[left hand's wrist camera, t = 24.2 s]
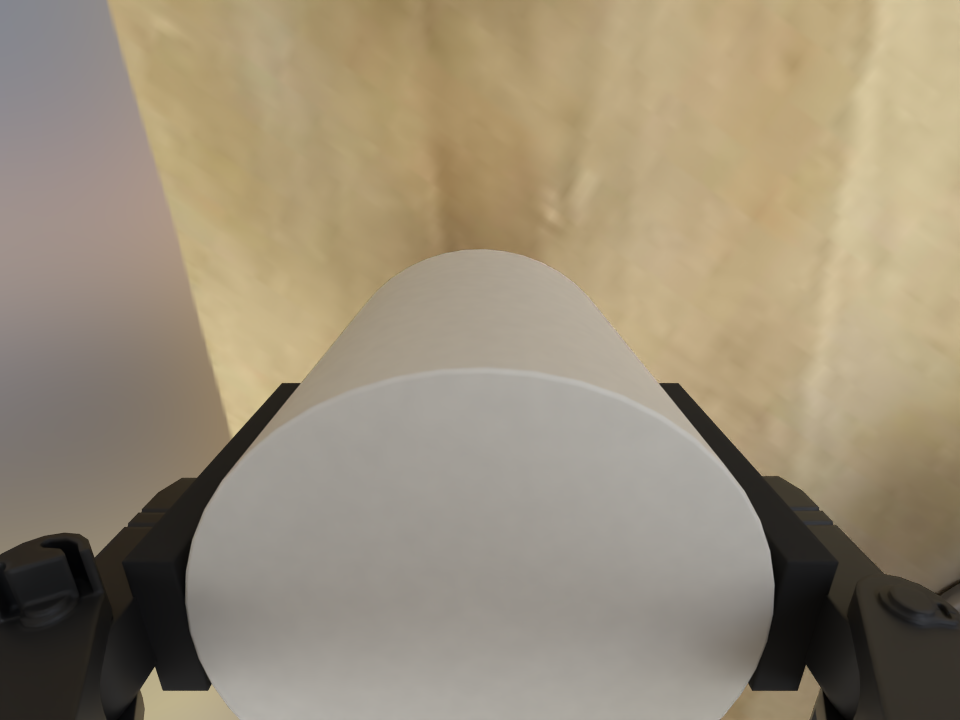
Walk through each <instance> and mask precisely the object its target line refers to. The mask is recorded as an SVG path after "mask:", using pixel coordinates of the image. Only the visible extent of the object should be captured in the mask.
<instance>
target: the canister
mask: <svg viewBox="0 0 960 720" xmlns="http://www.w3.org/2000/svg"><path fill="white" fill-rule="evenodd" d="M774 586H775V584H774V576H773V569H772V561H771V554H770V549H769V546H768V543H767V540H766V537H765V534H764V530H763V527H762V524H761V521H760V519H759V517H758V515H757V513H756V512H755V510H754V508H753V506H752V504H751V502H750V500H749V498H748V496H747V495H746V493H745V491H744V490H743V488H742V487H741V486H740V484H739V483H738V482H737V480H736V479H735V478H734V477H733V475H732V474H731V473H730V471H729V470H728V469H727V467H726V466H725V465H724V464H723V462H722V461H721V460H720V459H719V457H718V456H717V455H716V454H715V452H714V451H713V450H712V449H711V447H710V446H709V445H708V444H707V443H706V441H705V440H704V439H703V438H702V436H701V435H700V434H699V433H698V431H697V430H696V429H695V428H694V426H693V425H692V424H691V423H690V422H689V420H688V419H687V418H686V417H685V415H684V414H683V413H682V412H681V410H680V409H679V408H678V407H677V405H676V404H675V403H674V402H673V401H672V399H671V398H670V397H669V396H668V394H667V393H666V392H665V391H664V389H663V388H662V387H661V386H660V384H659V383H658V382H657V381H656V379H655V378H654V377H653V376H652V375H651V373H650V372H649V371H648V370H647V368H646V367H645V366H644V365H643V363H642V362H641V361H640V360H639V358H638V357H637V356H636V355H635V354H634V352H633V351H632V350H631V349H630V347H629V346H628V345H627V344H626V342H625V341H624V340H623V339H622V337H621V336H620V335H619V334H618V333H617V331H616V330H615V329H614V328H613V326H612V325H611V324H610V323H609V321H608V320H607V319H606V318H605V316H604V315H603V314H602V313H601V311H600V310H599V309H598V308H597V307H596V305H595V304H594V303H593V302H592V300H591V299H590V298H589V297H588V296H587V295H586V294H585V293H584V292H583V291H582V290H581V289H580V288H579V287H578V286H577V285H576V284H575V283H574V282H573V281H571V280H570V279H568V278H567V277H566V276H564V275H563V274H562V273H560V272H559V271H557V270H555V269H553V268H551V267H550V266H548V265H546V264H544V263H542V262H540V261H537V260H534V259H532V258H529V257H526V256H523V255H519V254H515V253H510V252H506V251H499V250H488V249H475V250H460V251H455V252H449V253H444V254H440V255H437V256H434V257H431V258H428V259H425V260H423V261H420V262H418V263H416V264H414V265H412V266H410V267H408V268H406V269H405V270H403V271H401V272H400V273H398V274H397V275H395V276H394V277H392V278H391V279H390V280H388V281H387V282H386V283H385V284H384V285H383V286H382V287H380V288H379V289H378V290H377V291H376V292H375V293H374V294H373V296H372V297H371V298H370V299H369V300H368V301H367V303H366V304H365V305H364V306H363V307H362V309H361V310H360V311H359V312H358V314H357V315H356V316H355V317H354V318H353V320H352V321H351V322H350V323H349V325H348V326H347V327H346V328H345V330H344V331H343V332H342V333H341V334H340V336H339V337H338V338H337V339H336V341H335V342H334V343H333V344H332V346H331V347H330V348H329V349H328V351H327V352H326V353H325V354H324V355H323V357H322V358H321V359H320V360H319V362H318V363H317V364H316V365H315V367H314V368H313V369H312V370H311V371H310V373H309V374H308V375H307V376H306V378H305V379H304V380H303V381H302V383H301V384H300V385H299V386H298V387H297V389H296V390H295V391H294V392H293V394H292V395H291V396H290V397H289V399H288V400H287V401H286V402H285V404H284V405H283V406H282V407H281V408H280V410H279V411H278V412H277V413H276V415H275V416H274V417H273V418H272V420H271V421H270V422H269V423H268V424H267V426H266V427H265V428H264V429H263V431H262V432H261V433H260V434H259V436H258V437H257V438H256V439H255V440H254V442H253V443H252V444H251V445H250V447H249V448H248V449H247V450H246V452H245V453H244V454H243V455H242V457H241V458H240V459H239V460H238V461H237V463H236V464H235V465H234V466H233V468H232V469H231V470H230V471H229V473H228V474H227V475H226V476H225V477H224V479H223V480H222V481H221V483H220V485H219V486H218V488H217V490H216V491H215V493H214V494H213V496H212V498H211V499H210V501H209V503H208V504H207V506H206V507H205V509H204V511H203V514H202V516H201V519H200V521H199V524H198V527H197V529H196V532H195V534H194V537H193V539H192V544H191V549H190V554H189V558H188V563H187V568H186V587H185V605H186V611H187V618H188V624H189V630H190V634H191V637H192V640H193V643H194V646H195V649H196V652H197V655H198V658H199V660H200V662H201V664H202V666H203V668H204V670H205V672H206V674H207V676H208V677H209V679H210V681H211V683H212V685H213V686H214V688H215V689H216V691H217V692H218V693H219V695H220V696H221V697H222V699H223V700H224V702H225V703H226V704H227V706H228V707H229V709H230V710H231V711H232V712H233V713H234V714H235V715H236V716H237V717H238V718H239V719H240V720H720V719H721V718H722V717H723V716H724V715H725V714H726V712H727V711H728V710H729V709H730V707H731V706H732V705H733V704H734V702H735V701H736V700H737V699H738V697H739V696H740V695H741V693H742V692H743V690H744V688H745V687H746V685H747V683H748V682H749V680H750V678H751V677H752V675H753V673H754V671H755V670H756V668H757V665H758V663H759V660H760V658H761V655H762V653H763V650H764V648H765V645H766V643H767V639H768V635H769V630H770V626H771V621H772V617H773V607H774Z"/></svg>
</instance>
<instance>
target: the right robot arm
mask: <svg viewBox="0 0 960 720" xmlns="http://www.w3.org/2000/svg"><path fill="white" fill-rule="evenodd" d="M940 596H941V597H942V598H943V599H944V600H946V601H947V602H948V603H949V604H950V605H952V606H953V607H954V608H955V609H956V610H957V611H958V612H959V613H960V584H958V585H956V586H954V587H953V588H951V589H949V590H948V591H946V592H945V593H943V594H942V595H940Z"/></svg>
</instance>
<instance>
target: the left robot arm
mask: <svg viewBox="0 0 960 720" xmlns="http://www.w3.org/2000/svg"><path fill="white" fill-rule="evenodd" d="M300 384H301V383H282V384H281V385H280V386H279V387H278V388H277V389H276V391H275V392H274V393H273V394H272V395H271V396H270V397H269V398H268V399H267V401H266V402H265V403H264V404H263V405H262V406H261V407H260V408H259V409H258V411H257V412H256V413H255V414H254V415H253V416H252V417H251V418H250V419H249V421H248V422H247V423H246V424H245V425H244V426H243V427H242V428H241V430H240V431H239V432H238V433H237V434H236V435H235V436H234V437H233V438H232V440H231V441H230V442H229V443H228V444H227V445H226V446H225V447H224V448H223V450H222V451H221V452H220V453H219V454H218V455H217V456H216V457H215V459H214V460H213V461H212V462H211V463H210V464H209V465H208V466H207V467H206V469H205V470H204V471H203V472H202V473H201V474H200V475H199V476H198V477H197V478H181V479H180V480H178V481H176V482H175V483H173V484H171V485H170V486H168V487H166V488H165V489H163V490H161V491H160V492H158V493H157V494H156V495H155V496H154V497H153V498H152V499H151V501H150V502H149V503H148V504H147V505H146V506H145V507H144V508H143V509H142V512H141V513H138V514H137V515H136V516H135V517H134V518H133V519H132V520H131V521H130V522H129V523H128V527H124V528H123V529H122V530H121V531H120V532H119V533H118V534H117V535H116V536H115V537H114V538H113V539H112V540H111V541H110V543H109V544H108V545H107V546H106V547H105V548H104V549H103V550H102V551H101V552H100V553H99V554H98V555H97V556H96V557H95V558H94V555H93V552H92V549H91V546H90V544H89V541H88V539H86V538H85V537H83V536H82V535H80V534H73V533H60V534H54V535H47V536H43V537H40V538H37V539H34V540H31V541H28V542H25V543H22V544H20V545H18V546H16V547H14V548H12V549H10V550H8V551H6V552H4V553H2V554H1V555H0V720H143V719H144V710H145V709H144V703H143V697H142V694H141V691H140V689H141V687H142V685H143V684H144V682H145V681H146V679H147V678H148V676H149V675H150V673H151V672H152V670H153V668H154V667H155V668H156V671H157V674H158V677H159V680H160V683H161V686H162V689H163V691H208V690H209V688H210V686H211V684H212V683H211V681H210V679H209V677H208V676H207V674H206V672H205V670H204V668H203V666H202V664H201V662H200V660H199V658H198V655H197V652H196V649H195V646H194V643H193V640H192V637H191V634H190V630H189V624H188V618H187V611H186V605H185V587H186V568H187V563H188V558H189V554H190V549H191V544H192V539H193V537H194V534H195V532H196V529H197V527H198V524H199V521H200V519H201V516H202V514H203V511H204V509H205V507H206V506H207V504H208V503H209V501H210V499H211V498H212V496H213V494H214V493H215V491H216V490H217V488H218V486H219V485H220V483H221V481H222V480H223V479H224V477H225V476H226V475H227V474H228V473H229V471H230V470H231V469H232V468H233V466H234V465H235V464H236V463H237V461H238V460H239V459H240V458H241V457H242V455H243V454H244V453H245V452H246V450H247V449H248V448H249V447H250V445H251V444H252V443H253V442H254V440H255V439H256V438H257V437H258V436H259V434H260V433H261V432H262V431H263V429H264V428H265V427H266V426H267V424H268V423H269V422H270V421H271V420H272V418H273V417H274V416H275V415H276V413H277V412H278V411H279V410H280V408H281V407H282V406H283V405H284V404H285V402H286V401H287V400H288V399H289V397H290V396H291V395H292V394H293V392H294V391H295V390H296V389H297V387H298V386H299V385H300ZM659 384H660V386H661V387H662V388H663V389H664V391H665V392H666V393H667V394H668V396H669V397H670V398H671V399H672V401H673V402H674V403H675V404H676V405H677V407H678V408H679V409H680V410H681V412H682V413H683V414H684V415H685V417H686V418H687V419H688V420H689V422H690V423H691V424H692V425H693V426H694V428H695V429H696V430H697V431H698V433H699V434H700V435H701V436H702V438H703V439H704V440H705V441H706V443H707V444H708V445H709V446H710V447H711V449H712V450H713V451H714V452H715V454H716V455H717V456H718V457H719V459H720V460H721V461H722V462H723V464H724V465H725V466H726V467H727V469H728V470H729V471H730V473H731V474H732V475H733V477H734V478H735V479H736V480H737V482H738V483H739V484H740V486H741V487H742V488H743V490H744V491H745V493H746V495H747V496H748V498H749V500H750V502H751V504H752V506H753V508H754V510H755V512H756V513H757V515H758V517H759V519H760V521H761V524H762V527H763V530H764V534H765V537H766V540H767V543H768V546H769V549H770V554H771V561H772V569H773V576H774V584H775V586H774V607H773V617H772V621H771V626H770V630H769V635H768V639H767V643H766V645H765V648H764V650H763V653H762V655H761V658H760V660H759V663H758V665H757V668H756V670H755V671H754V673H753V675H752V677H751V678H750V680H749V682H748V683H749V685H750V687H751V689H752V691H798V688H799V684H800V681H801V678H802V675H803V672H804V669H805V666H806V665H807V667H808V668H809V670H810V671H811V673H812V674H813V676H814V678H815V679H816V681H817V682H818V684H819V685H820V687H821V688H820V691H819V694H818V697H817V700H816V703H815V706H814V709H813V712H812V715H811V717H810V720H960V613H959V612H958V611H957V610H956V609H955V608H954V607H953V606H952V605H950V604H949V603H948V602H947V601H946V600H944V599H943V598H942V597H941V596H939V595H937V594H936V593H934V592H932V591H930V590H929V589H927V588H925V587H923V586H921V585H919V584H917V583H914V582H911V581H909V580H906V579H903V578H901V577H896V576H891V575H885V574H884V573H883V572H882V571H881V570H880V569H879V568H878V567H877V566H876V565H875V564H874V563H873V562H872V561H871V560H870V559H869V558H868V557H867V556H866V555H865V554H864V553H863V552H862V551H861V550H860V549H859V548H858V547H857V546H856V545H855V544H854V543H853V542H852V541H851V540H850V539H849V538H848V537H847V536H846V535H845V534H844V533H843V532H842V531H841V529H840V528H839V527H838V526H837V525H833V521H832V520H831V519H830V518H829V517H828V516H827V515H826V514H825V513H824V512H823V511H819V507H818V506H817V505H816V504H815V503H814V502H813V501H812V500H811V499H810V498H809V497H808V496H807V495H806V494H805V493H804V492H803V491H802V490H800V489H799V488H797V487H795V486H794V485H792V484H791V483H789V482H787V481H786V480H784V479H782V478H781V477H779V476H761V475H760V474H759V473H758V471H757V470H756V469H755V468H754V467H753V466H752V465H751V464H750V463H749V461H748V460H747V459H746V458H745V457H744V456H743V455H742V454H741V453H740V451H739V450H738V449H737V448H736V447H735V446H734V445H733V444H732V442H731V441H730V440H729V439H728V438H727V437H726V436H725V435H724V434H723V432H722V431H721V430H720V429H719V428H718V427H717V426H716V425H715V424H714V422H713V421H712V420H711V419H710V418H709V417H708V416H707V415H706V414H705V412H704V411H703V410H702V409H701V408H700V407H699V406H698V405H697V404H696V402H695V401H694V400H693V399H692V398H691V397H690V396H689V395H688V393H687V392H686V391H685V390H684V389H683V388H682V387H681V386H680V385H679V383H659Z"/></svg>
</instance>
